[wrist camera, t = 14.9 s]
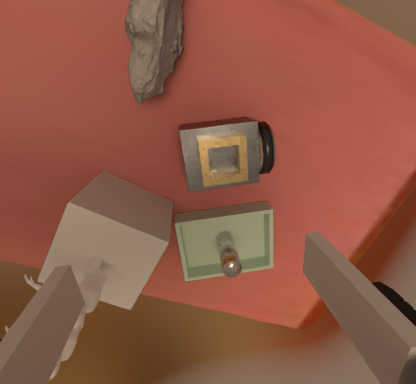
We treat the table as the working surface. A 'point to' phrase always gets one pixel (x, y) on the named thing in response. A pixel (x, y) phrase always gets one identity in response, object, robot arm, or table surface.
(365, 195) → the table surface
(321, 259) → the robot arm
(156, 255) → the grey box
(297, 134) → the table surface
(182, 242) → the tray
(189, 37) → the table surface
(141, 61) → the fossil
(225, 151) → the block
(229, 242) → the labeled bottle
